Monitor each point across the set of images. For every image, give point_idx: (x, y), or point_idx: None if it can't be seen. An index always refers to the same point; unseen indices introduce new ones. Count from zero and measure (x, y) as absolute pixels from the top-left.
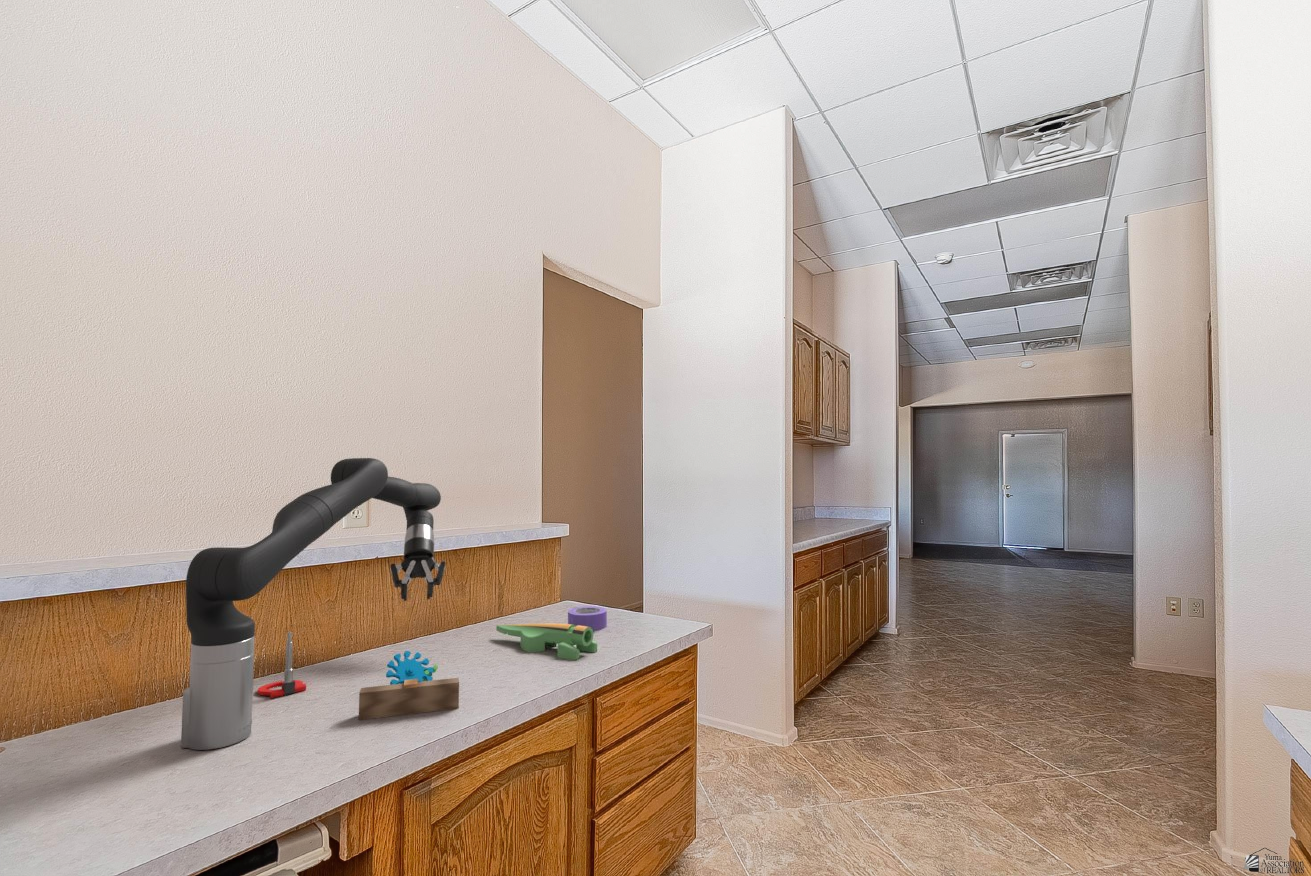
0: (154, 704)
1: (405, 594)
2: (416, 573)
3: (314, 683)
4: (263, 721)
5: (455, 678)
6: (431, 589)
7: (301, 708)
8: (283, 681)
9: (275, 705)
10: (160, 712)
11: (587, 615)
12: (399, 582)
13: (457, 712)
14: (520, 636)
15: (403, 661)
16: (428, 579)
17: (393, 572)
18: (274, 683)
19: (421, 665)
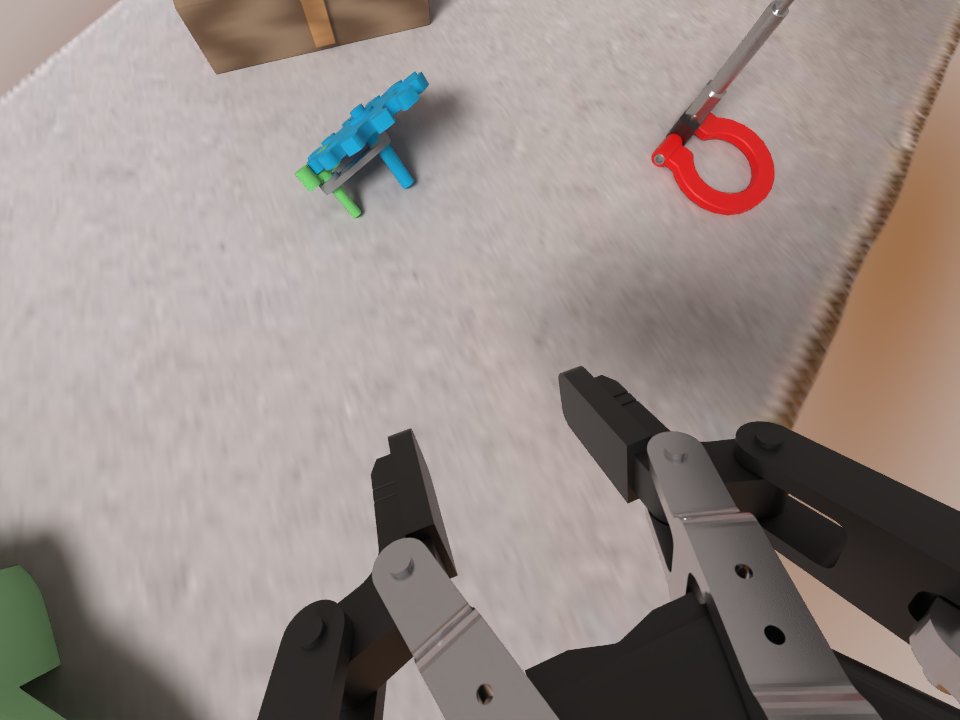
0: (920, 91)
1: (574, 376)
2: (634, 635)
3: (664, 210)
4: (614, 3)
5: (183, 3)
6: (388, 493)
7: (582, 59)
8: (746, 198)
9: (653, 76)
10: (862, 52)
11: None
12: (721, 454)
13: None
14: (15, 689)
15: (385, 103)
16: (431, 563)
17: (925, 508)
18: (757, 184)
19: (337, 140)
